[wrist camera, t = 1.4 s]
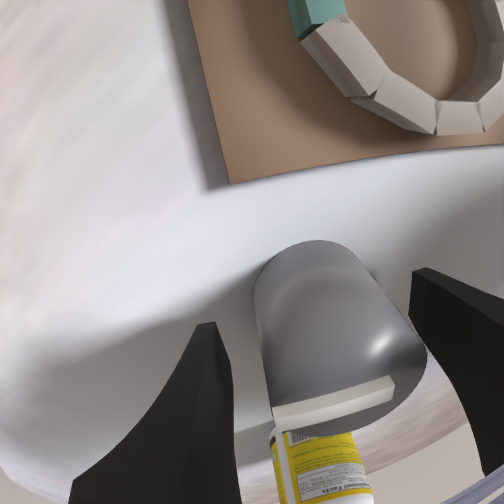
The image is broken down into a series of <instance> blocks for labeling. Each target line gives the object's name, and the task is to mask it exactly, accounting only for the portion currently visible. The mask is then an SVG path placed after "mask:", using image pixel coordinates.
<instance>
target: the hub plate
mask: <svg viewBox="0 0 504 504" xmlns="http://www.w3.org/2000/svg"><path fill="white" fill-rule="evenodd" d="M187 1H188V6H189V10H190V14H191V19H192V23H193V28H194V32H195V36H196V41H197V45H198V49H199V53H200V58H201V62H202V66H203V71H204V75H205V79H206V84H207V88H208V92H209V96H210V101H211V105H212V109H213V113H214V118H215V122H216V126H217V130H218V135H219V139H220V143H221V147H222V152H223V156H224V160H225V164H226V168H227V173H228V177H229V181H230V185H231V184H235V183H239V182H244V181H248V180H253V179H257V178H262V177H266V176H271V175H276V174H281V173H286V172H291V171H296V170H301V169H306V168H311V167H317V166H322V165H328V164H334V163H339V162H345V161H352V160H358V159H364V158H371V157H377V156H384V155H392V154H399V153H407V152H415V151H423V150H432V149H442V148H452V147H463V146H475V145H489V144H504V0H187Z"/></svg>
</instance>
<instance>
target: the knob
mask: <svg viewBox="0 0 504 504" xmlns="http://www.w3.org/2000/svg"><path fill="white" fill-rule="evenodd" d="M253 305H254V311H255V317H256V323H257V329H258V335H259V341H260V347H261V353H262V359H263V365H264V371H265V377H266V383H267V389H268V395H269V400H270V406H271V412H272V416H273V418H274V422H275V425H276V428H277V431H278V432H283V431H288V432H291V433H293V434H297V435H301V436H308V437H326V436H334V435H339V434H344V433H347V432H351V431H354V430H357V429H360V428H362V427H364V426H367V425H369V424H371V423H373V422H375V421H377V420H379V419H380V418H382V417H384V416H385V415H387V414H388V413H390V412H391V411H392V410H394V409H395V408H396V407H398V406H399V405H400V404H401V403H402V402H403V401H404V400H405V399H406V398H407V397H408V396H409V395H410V394H411V393H412V392H413V390H414V389H415V388H416V386H417V385H418V383H419V382H420V380H421V378H422V376H423V374H424V371H425V368H426V364H427V351H426V348H425V346H424V344H423V342H422V341H421V339H420V338H419V337H418V335H417V334H416V333H415V331H414V330H413V328H412V327H411V326H410V324H409V323H408V322H407V320H406V319H405V318H404V316H403V315H402V314H401V313H400V311H399V310H398V309H397V307H396V306H395V305H394V303H393V302H392V301H391V300H390V298H389V297H388V296H387V294H386V293H385V292H384V291H383V289H382V288H381V287H380V286H379V284H378V283H377V282H376V281H375V279H374V278H373V277H372V276H371V274H370V273H369V272H368V271H367V270H366V268H365V267H364V266H363V265H362V263H361V262H360V261H359V260H358V259H357V257H356V256H355V255H354V254H353V253H352V252H351V251H349V250H348V249H347V248H345V247H343V246H342V245H339V244H337V243H334V242H330V241H322V240H316V241H307V242H302V243H299V244H295V245H293V246H291V247H288V248H287V249H285V250H283V251H281V252H280V253H278V254H277V255H276V256H274V257H273V258H272V259H271V260H270V261H269V262H268V263H267V264H266V265H265V267H264V268H263V269H262V271H261V272H260V274H259V276H258V278H257V280H256V283H255V286H254V290H253Z"/></svg>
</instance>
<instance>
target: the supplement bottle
mask: <svg viewBox="0 0 504 504" xmlns="http://www.w3.org/2000/svg"><path fill="white" fill-rule="evenodd" d="M269 442H270V449H271V454H272V460H273V466H274V471H275V477H276V483H277V488H278V494H279V500H280V504H373V502H374V498H373V494H372V491H371V489H370V485H369V483H368V480H367V477H366V474H365V471H364V468H363V466H362V463H361V460H360V457H359V454H358V452H357V449H356V446H355V443H354V441H353V438H352V435H351V432H347V433H344V434H339V435H334V436H326V437H308V436H301V435H297V434H293V433H291V432H288V431H283V432H278V431H277V428H276V426H275V427H274V428H273V429H272V431H271V433H270V435H269Z"/></svg>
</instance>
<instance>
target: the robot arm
mask: <svg viewBox="0 0 504 504" xmlns="http://www.w3.org/2000/svg"><path fill="white" fill-rule="evenodd" d="M408 316H409V317H410V319H411V321H412V323H413V325H414V327H415V329H416V331H417V333H418V334H419V336H420V338H421V339H422V341H423V342H424V343H425V345H426V346H427V348H428V349H429V351H430V352H431V353H432V355H433V356H434V358H435V359H436V360H437V362H438V363H439V365H440V366H441V368H442V369H443V371H444V372H445V373H446V375H447V376H448V378H449V380H450V381H451V383H452V385H453V387H454V389H455V391H456V393H457V395H458V397H459V399H460V401H461V403H462V406H463V408H464V410H465V413H466V415H467V418H468V420H469V423H470V425H471V429H472V431H473V435H474V438H475V441H476V444H477V448H478V452H479V457H480V460H481V466H482V471H483V473H484V475H485V478H483V479H482V480H480V481H479V482H477V483H475V484H474V485H472V486H470V487H469V488H467V489H466V490H464V491H462V492H460V493H459V494H457V495H455V496H453V497H452V498H450V499H448V500H446V501H444V502H442V503H440V504H477V503H478V502H480V501H481V500H483V499H484V498H486V497H487V496H489V495H490V494H492V493H493V492H495V491H496V490H497V489H499V488H500V487H502V486H503V485H504V299H501V298H498V297H496V296H493V295H491V294H488V293H486V292H483V291H481V290H478V289H476V288H474V287H471V286H469V285H467V284H465V283H462V282H460V281H458V280H456V279H453V278H451V277H449V276H447V275H444V274H442V273H440V272H437V271H435V270H432V269H429V268H426V267H425V268H422V269H419V270H416V271H412V284H411V294H410V304H409V313H408ZM68 504H242V501H241V495H240V489H239V483H238V476H237V469H236V461H235V454H234V402H233V380H232V372H231V364H230V360H229V358H228V355H227V353H226V350H225V347H224V345H223V342H222V339H221V336H220V334H219V331H218V328H217V325H216V323H215V322H210V323H205V324H199V325H197V327H196V328H195V330H194V332H193V334H192V337H191V339H190V341H189V343H188V345H187V347H186V349H185V351H184V353H183V355H182V357H181V359H180V360H179V362H178V364H177V366H176V368H175V370H174V371H173V373H172V375H171V377H170V378H169V380H168V381H167V383H166V385H165V386H164V388H163V390H162V391H161V393H160V394H159V396H158V397H157V399H156V400H155V402H154V403H153V404H152V406H151V407H150V408H149V410H148V411H147V412H146V414H145V415H144V416H143V418H142V419H141V420H140V421H139V422H138V423H137V425H136V426H135V427H134V428H133V429H132V430H131V431H130V432H129V433H128V435H127V436H126V437H125V438H124V439H123V440H122V441H121V442H120V443H119V444H118V445H117V446H116V447H115V448H114V449H112V450H111V451H110V452H109V453H108V454H107V455H106V456H105V457H103V458H102V459H101V460H100V461H99V462H97V463H96V464H95V465H93V466H92V467H91V468H89V469H88V470H87V471H85V472H84V473H83V474H81V475H80V476H78V477H77V478H75V479H74V480H73V483H72V487H71V492H70V497H69V502H68ZM488 504H504V493H502V494H501V495H499V496H498V497H497V498H495V499H494V500H492V501H491V502H490V503H488Z"/></svg>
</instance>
